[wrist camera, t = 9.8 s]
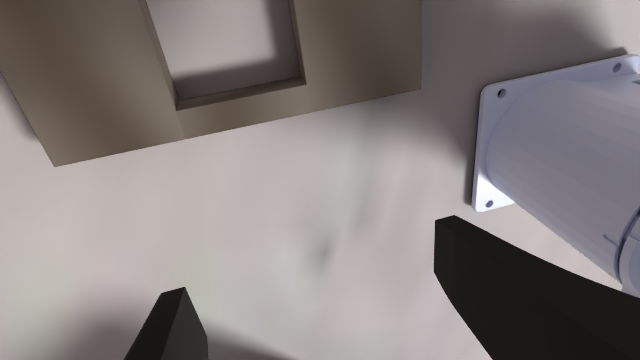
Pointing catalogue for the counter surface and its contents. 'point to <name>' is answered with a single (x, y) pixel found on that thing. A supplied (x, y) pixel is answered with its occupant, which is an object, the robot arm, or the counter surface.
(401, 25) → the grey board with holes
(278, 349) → the counter surface
